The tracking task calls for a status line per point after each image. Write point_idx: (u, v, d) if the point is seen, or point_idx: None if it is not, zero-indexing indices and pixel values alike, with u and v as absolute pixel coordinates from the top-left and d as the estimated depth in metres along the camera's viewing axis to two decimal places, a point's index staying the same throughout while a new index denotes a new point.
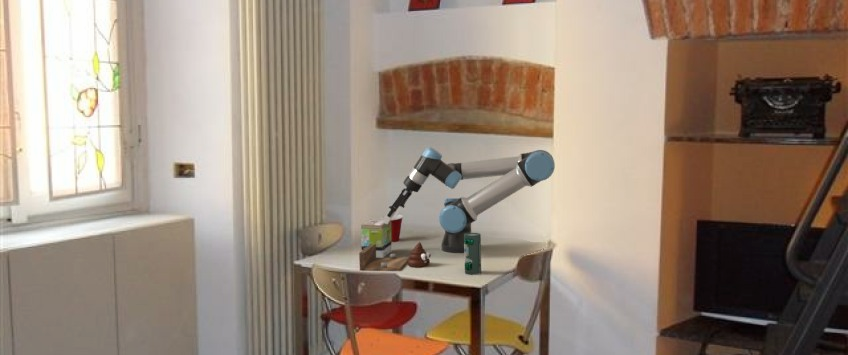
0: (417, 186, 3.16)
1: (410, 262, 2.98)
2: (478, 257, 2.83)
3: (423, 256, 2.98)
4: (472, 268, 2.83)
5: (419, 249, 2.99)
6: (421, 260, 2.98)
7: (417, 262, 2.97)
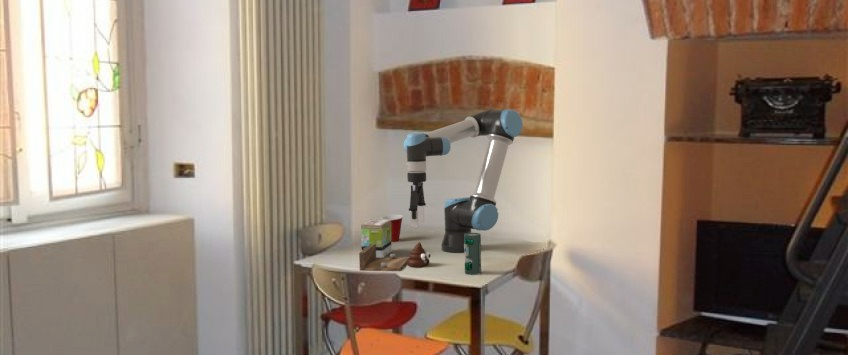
0: (421, 175, 2.95)
1: (410, 262, 2.98)
2: (478, 257, 2.83)
3: (423, 256, 2.98)
4: (472, 268, 2.83)
5: (419, 249, 2.99)
6: (421, 260, 2.98)
7: (416, 262, 2.97)
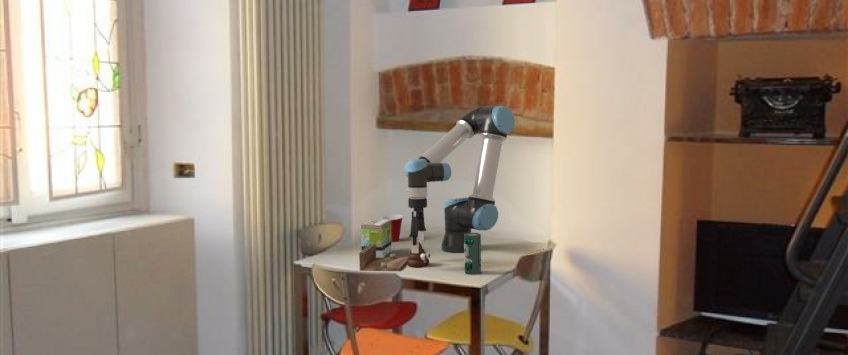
0: (422, 201, 2.96)
1: (410, 262, 2.98)
2: (478, 257, 2.83)
3: (423, 256, 2.98)
4: (472, 268, 2.83)
5: (419, 249, 2.99)
6: (421, 260, 2.98)
7: (416, 262, 2.97)
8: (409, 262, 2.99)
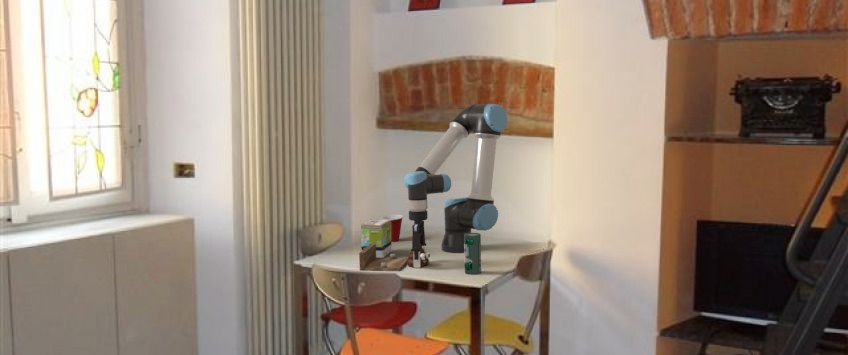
0: (423, 213, 2.97)
1: (409, 262, 2.98)
2: (478, 257, 2.83)
3: (422, 256, 2.98)
4: (472, 268, 2.83)
5: None
6: (420, 260, 2.98)
7: None
8: (409, 262, 2.99)
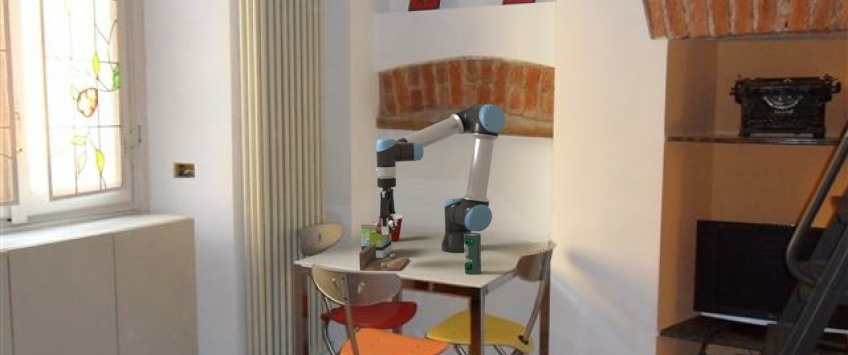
0: (391, 180, 2.96)
1: (378, 229, 2.98)
2: (478, 257, 2.83)
3: (391, 223, 2.97)
4: (472, 268, 2.83)
5: None
6: (389, 227, 2.97)
7: None
8: (377, 229, 2.98)
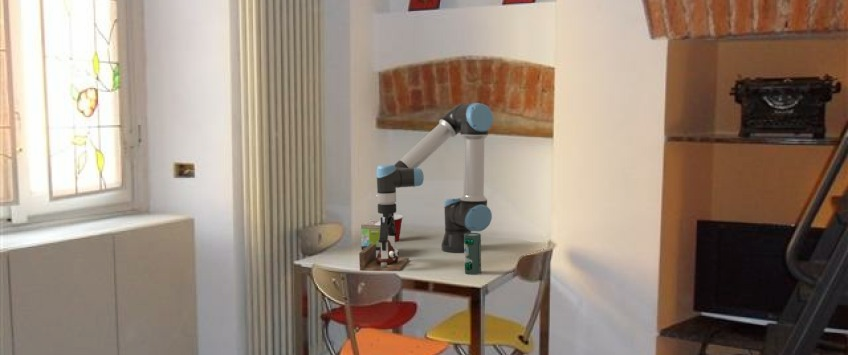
0: (391, 206, 2.97)
1: (378, 259, 2.99)
2: (478, 257, 2.83)
3: (391, 253, 2.99)
4: (472, 268, 2.83)
5: None
6: (389, 257, 2.99)
7: (385, 259, 2.98)
8: (378, 259, 3.00)
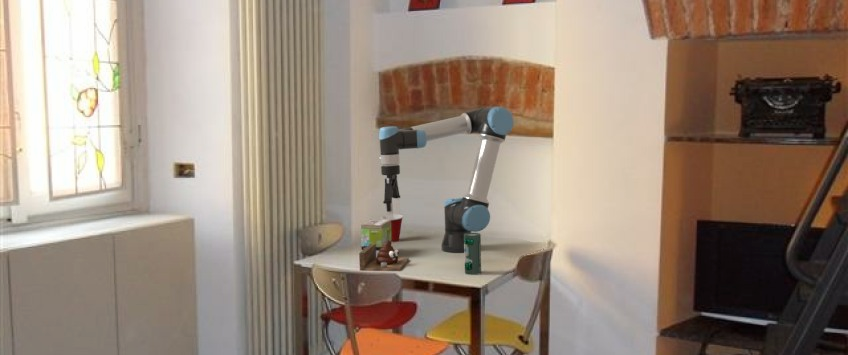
0: (395, 168, 2.99)
1: (378, 259, 3.00)
2: (478, 257, 2.83)
3: (391, 253, 2.99)
4: (472, 268, 2.83)
5: (387, 246, 3.01)
6: (389, 257, 2.99)
7: (385, 259, 2.98)
8: (378, 259, 3.00)
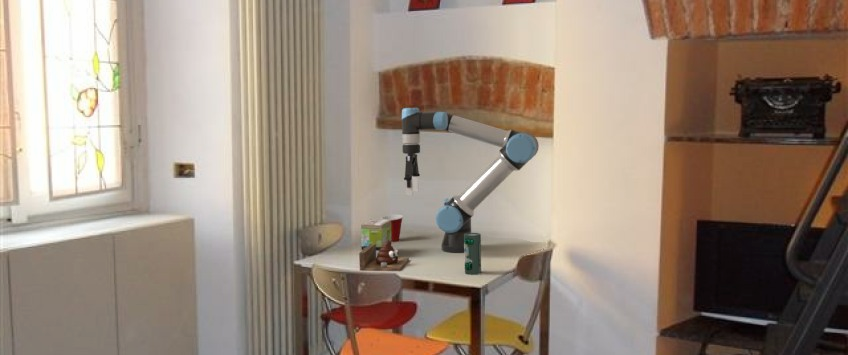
0: (416, 146, 3.16)
1: (378, 259, 3.00)
2: (478, 257, 2.83)
3: (391, 253, 2.99)
4: (472, 268, 2.83)
5: (387, 246, 3.01)
6: (389, 257, 2.99)
7: (384, 259, 2.98)
8: (378, 259, 3.00)
